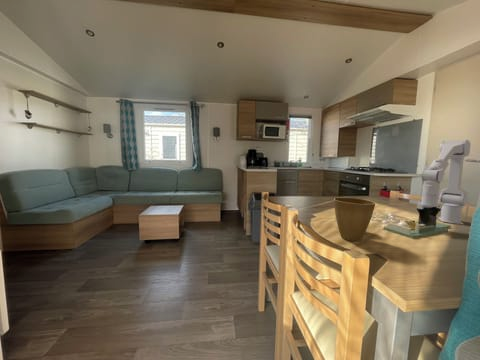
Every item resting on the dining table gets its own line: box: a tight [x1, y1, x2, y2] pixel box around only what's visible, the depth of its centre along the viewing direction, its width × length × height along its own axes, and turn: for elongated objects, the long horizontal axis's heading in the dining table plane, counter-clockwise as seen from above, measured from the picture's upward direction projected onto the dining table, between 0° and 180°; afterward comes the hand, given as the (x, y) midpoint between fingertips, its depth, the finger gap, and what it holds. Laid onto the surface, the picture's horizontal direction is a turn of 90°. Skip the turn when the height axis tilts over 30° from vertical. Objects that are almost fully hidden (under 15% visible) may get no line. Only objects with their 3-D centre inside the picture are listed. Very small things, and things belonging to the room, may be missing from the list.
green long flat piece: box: [383, 220, 452, 239], centre depth 97 cm, size 36×12×3 cm, turn 111°
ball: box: [398, 221, 409, 228], centre depth 92 cm, size 4×4×4 cm
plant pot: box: [333, 196, 376, 242], centre depth 84 cm, size 15×15×16 cm
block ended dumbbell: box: [404, 215, 438, 230], centre depth 96 cm, size 14×5×5 cm, turn 111°
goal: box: [387, 218, 420, 235], centre depth 92 cm, size 6×9×4 cm
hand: (427, 222), depth 98 cm, fingers closed on block ended dumbbell, 4 cm apart
